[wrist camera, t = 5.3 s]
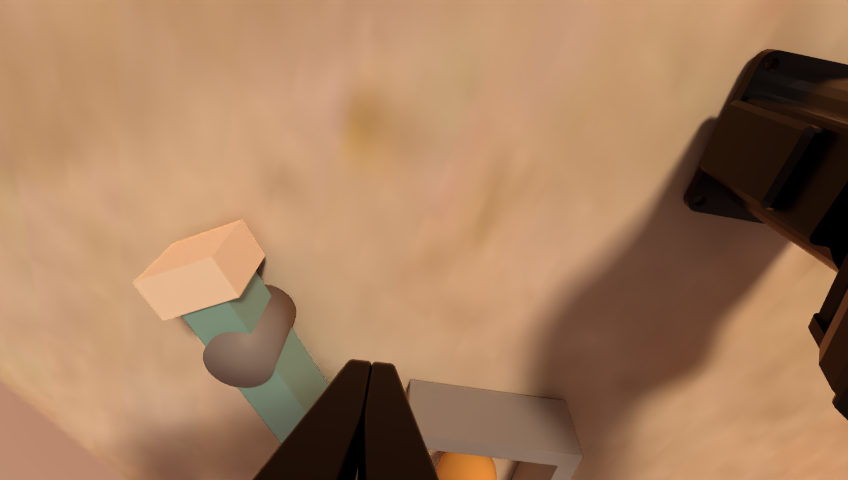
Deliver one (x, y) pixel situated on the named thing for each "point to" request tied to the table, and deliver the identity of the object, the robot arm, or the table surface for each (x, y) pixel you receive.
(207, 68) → the table surface
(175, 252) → the lever
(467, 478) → the ball
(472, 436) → the pocket
